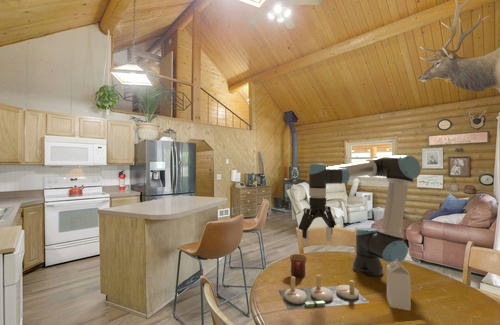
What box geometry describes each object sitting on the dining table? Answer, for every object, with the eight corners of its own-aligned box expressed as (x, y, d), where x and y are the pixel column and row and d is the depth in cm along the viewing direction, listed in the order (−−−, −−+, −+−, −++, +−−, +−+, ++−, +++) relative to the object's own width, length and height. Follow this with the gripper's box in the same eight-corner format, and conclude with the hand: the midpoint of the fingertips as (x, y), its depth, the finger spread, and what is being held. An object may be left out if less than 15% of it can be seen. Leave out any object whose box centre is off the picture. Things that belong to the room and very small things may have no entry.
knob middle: (326, 289, 109) (326, 273, 110) (337, 300, 100) (337, 283, 101) (307, 291, 108) (307, 275, 108) (316, 302, 99) (316, 285, 99)
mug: (289, 272, 130) (289, 253, 130) (306, 274, 128) (306, 254, 129) (288, 282, 118) (289, 262, 119) (307, 284, 117) (307, 263, 117)
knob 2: (351, 287, 111) (351, 272, 111) (363, 298, 102) (363, 281, 102) (332, 289, 110) (332, 273, 110) (343, 300, 101) (343, 283, 101)
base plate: (349, 287, 114) (349, 282, 114) (369, 305, 100) (369, 299, 100) (278, 292, 109) (278, 287, 109) (288, 312, 94) (288, 306, 94)
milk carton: (405, 304, 101) (405, 258, 101) (410, 313, 94) (410, 265, 95) (386, 300, 103) (386, 256, 104) (390, 310, 97) (390, 262, 97)
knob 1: (301, 291, 108) (301, 275, 108) (310, 303, 99) (310, 285, 99) (282, 292, 106) (282, 276, 106) (288, 304, 97) (288, 287, 97)
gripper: (331, 194, 120) (332, 237, 119) (290, 197, 109) (290, 244, 109) (343, 196, 113) (343, 241, 113) (300, 199, 102) (301, 249, 102)
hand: (317, 243), depth 111 cm, fingers open, 13 cm apart
